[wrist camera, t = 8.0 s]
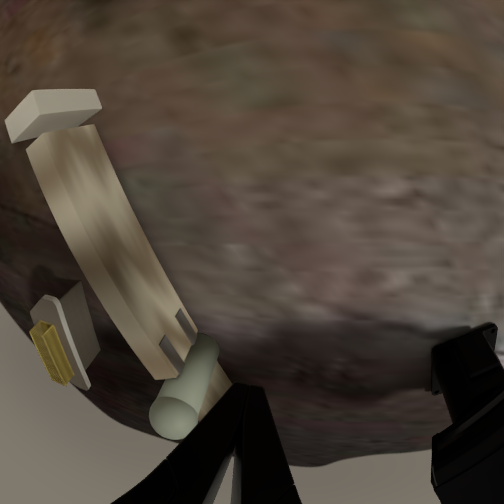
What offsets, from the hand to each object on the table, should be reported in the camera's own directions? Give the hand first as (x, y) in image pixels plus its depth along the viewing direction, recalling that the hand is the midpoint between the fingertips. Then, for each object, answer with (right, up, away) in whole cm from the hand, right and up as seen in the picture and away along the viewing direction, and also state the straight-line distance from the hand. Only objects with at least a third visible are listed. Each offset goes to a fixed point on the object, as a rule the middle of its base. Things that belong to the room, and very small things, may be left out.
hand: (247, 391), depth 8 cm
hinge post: (-4, -4, +16) cm, 17 cm away
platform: (-15, -2, +17) cm, 23 cm away
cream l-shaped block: (-11, +13, +9) cm, 19 cm away
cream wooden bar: (-8, +5, +12) cm, 15 cm away
